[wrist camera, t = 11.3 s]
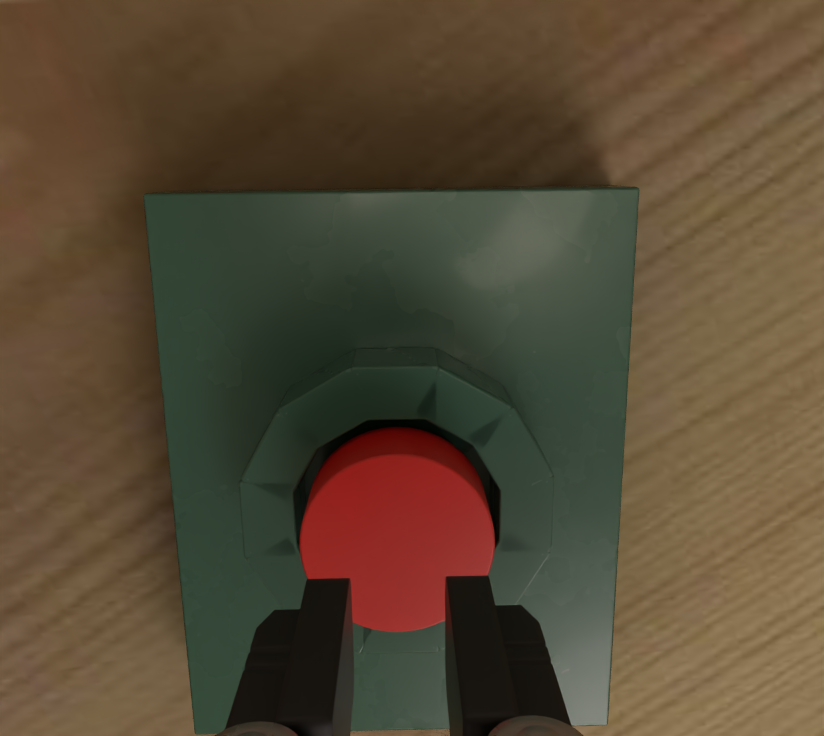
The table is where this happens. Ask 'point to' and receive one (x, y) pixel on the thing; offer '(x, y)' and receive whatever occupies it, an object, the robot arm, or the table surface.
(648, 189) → the table surface
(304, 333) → the control box
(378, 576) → the button
